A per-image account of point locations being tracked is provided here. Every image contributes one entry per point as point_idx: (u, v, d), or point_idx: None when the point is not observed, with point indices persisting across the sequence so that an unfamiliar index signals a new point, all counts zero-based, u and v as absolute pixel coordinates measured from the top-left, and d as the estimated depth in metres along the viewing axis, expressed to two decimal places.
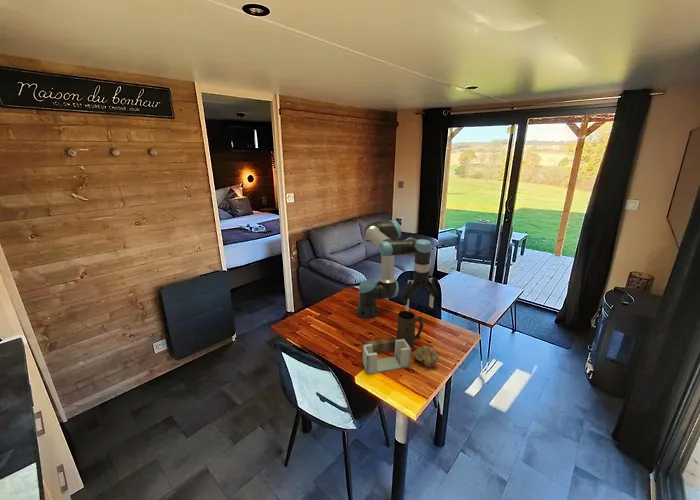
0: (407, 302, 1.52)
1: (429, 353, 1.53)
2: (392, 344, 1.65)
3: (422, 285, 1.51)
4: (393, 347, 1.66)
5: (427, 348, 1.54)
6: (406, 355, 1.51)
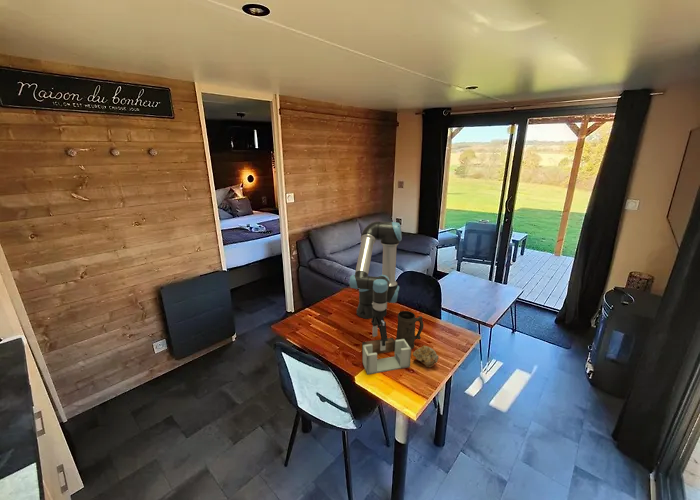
0: None
1: (429, 353, 1.53)
2: (392, 344, 1.65)
3: None
4: (393, 347, 1.66)
5: (427, 348, 1.54)
6: (406, 355, 1.51)
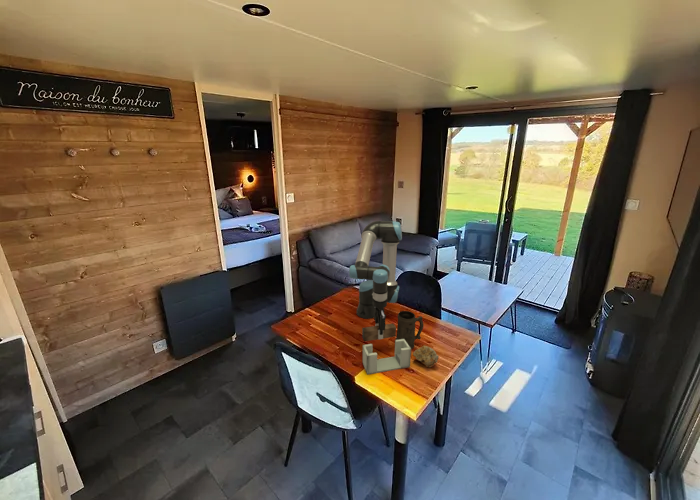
0: None
1: (429, 353, 1.53)
2: (393, 330, 1.63)
3: None
4: (394, 333, 1.64)
5: (427, 348, 1.54)
6: (406, 355, 1.51)
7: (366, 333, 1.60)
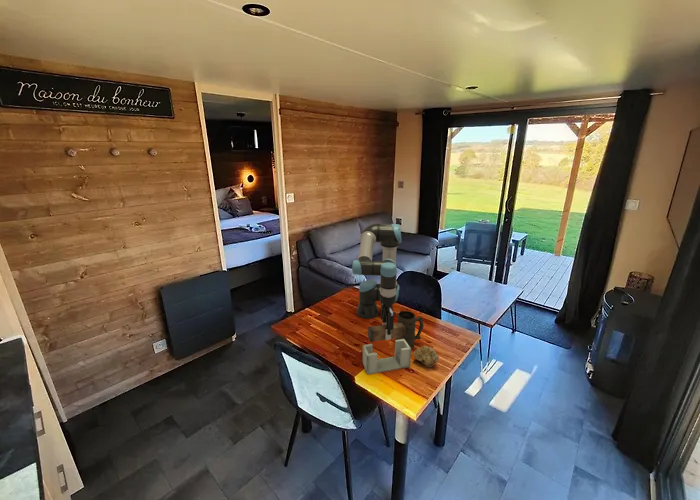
0: None
1: (429, 353, 1.53)
2: (401, 329, 1.49)
3: None
4: (402, 333, 1.50)
5: (427, 348, 1.54)
6: (406, 355, 1.51)
7: (372, 333, 1.46)
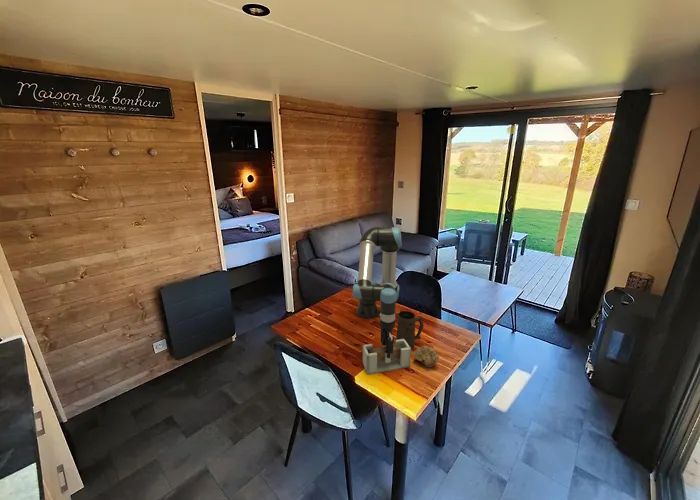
0: None
1: (429, 353, 1.53)
2: None
3: None
4: None
5: (427, 348, 1.54)
6: (406, 355, 1.51)
7: None
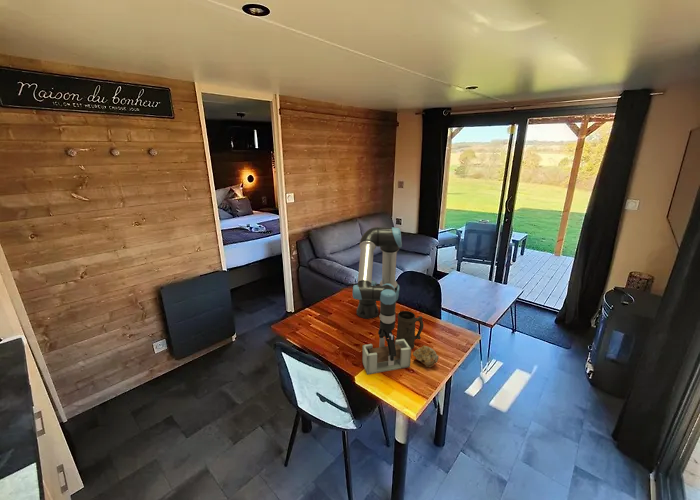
0: None
1: (429, 353, 1.53)
2: None
3: None
4: None
5: (427, 348, 1.54)
6: (406, 355, 1.51)
7: None
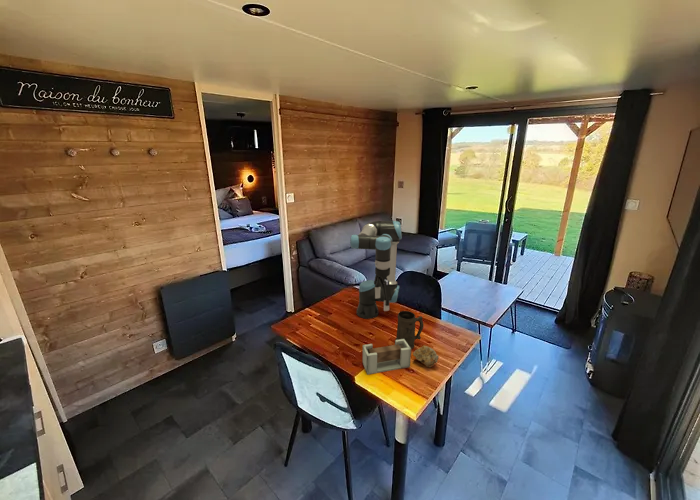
0: None
1: (429, 353, 1.53)
2: None
3: None
4: None
5: (427, 348, 1.54)
6: (406, 355, 1.51)
7: None
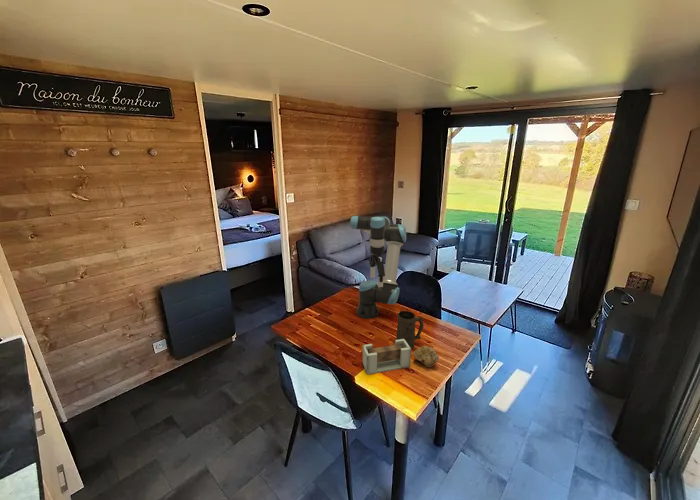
0: None
1: (429, 353, 1.53)
2: None
3: (375, 259, 1.63)
4: None
5: (427, 348, 1.54)
6: (406, 355, 1.51)
7: None
